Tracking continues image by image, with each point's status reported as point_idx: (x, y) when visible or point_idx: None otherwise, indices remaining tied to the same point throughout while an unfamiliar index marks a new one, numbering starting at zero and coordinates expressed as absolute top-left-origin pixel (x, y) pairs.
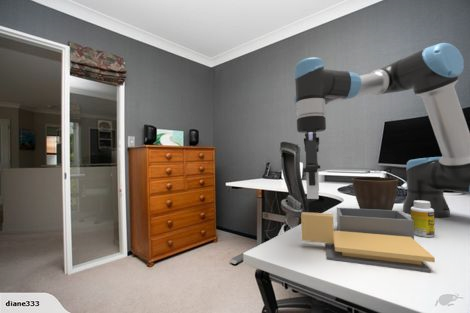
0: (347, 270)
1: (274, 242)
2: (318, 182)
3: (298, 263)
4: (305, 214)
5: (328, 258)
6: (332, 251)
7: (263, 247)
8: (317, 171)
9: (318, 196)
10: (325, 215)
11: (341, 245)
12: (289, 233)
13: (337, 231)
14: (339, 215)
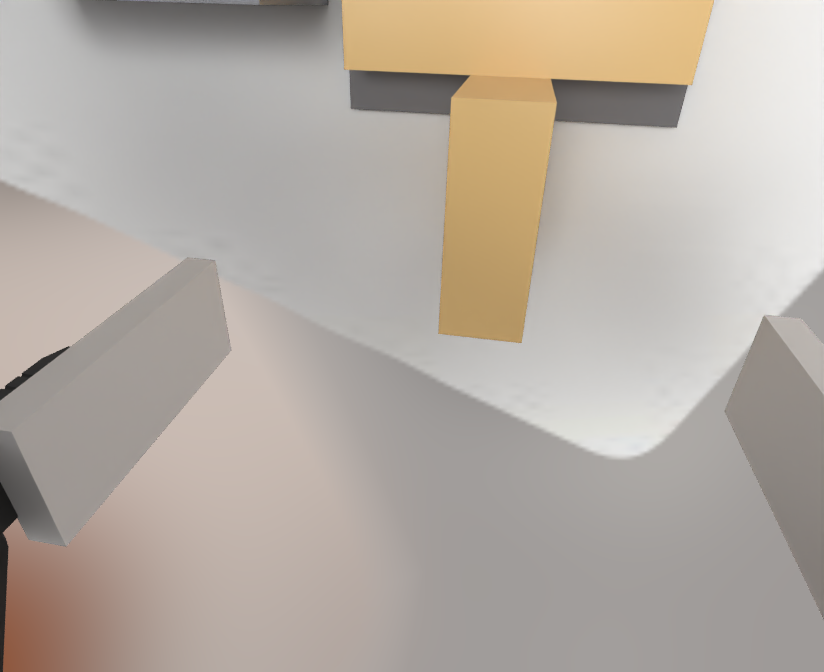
0: (820, 19)
1: (476, 373)
2: (158, 309)
3: (730, 269)
4: (514, 314)
5: (677, 117)
6: (585, 85)
7: (551, 414)
8: (47, 413)
9: (814, 334)
10: (523, 166)
11: (662, 35)
12: (319, 308)
13: (358, 30)
14: (242, 2)
